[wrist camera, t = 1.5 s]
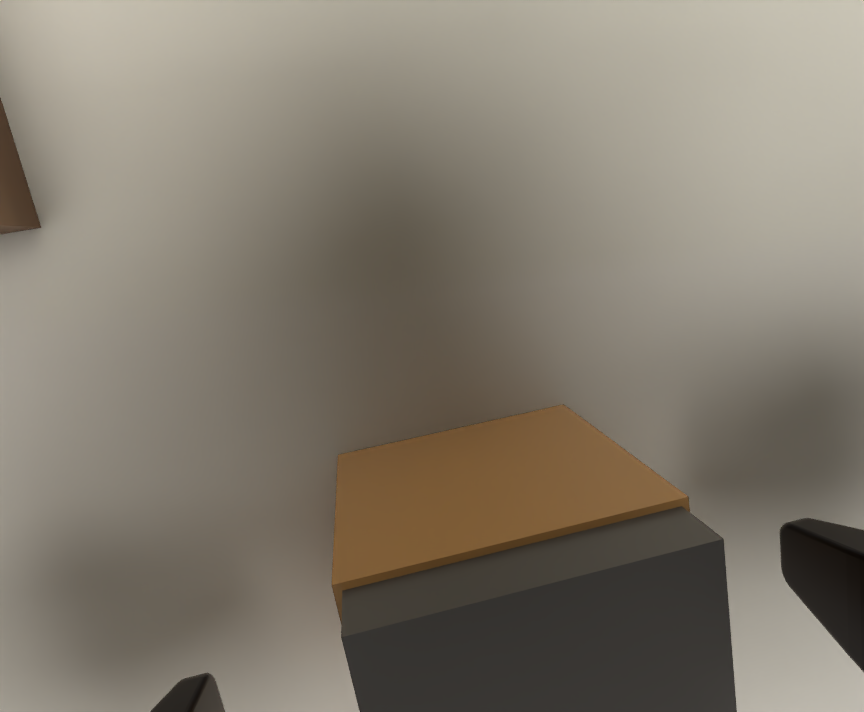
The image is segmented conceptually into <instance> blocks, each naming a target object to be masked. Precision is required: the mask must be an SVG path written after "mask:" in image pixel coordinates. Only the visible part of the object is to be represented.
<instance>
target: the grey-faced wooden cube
mask: <svg viewBox="0 0 864 712" xmlns="http://www.w3.org/2000/svg"><path fill="white" fill-rule="evenodd" d="M332 588H333V593H334V597H335V601H336V605H337V609H338V613H339V617H340V621H341V625H342V630H341V638H342V642H343V646H344V650H345V654H346V658H347V662H348V666H349V670H350V674H351V678H352V682H353V686H354V690H355V694H356V698H357V702H358V706H359V710H360V712H737V710H736V697H735V684H734V671H733V658H732V645H731V632H730V618H729V605H728V592H727V579H726V566H725V553H724V540H723V538H722V537H720V536H719V535H718V534H717V533H715V532H714V531H713V530H711V529H710V528H709V527H708V526H706V525H705V524H704V523H703V522H701V521H700V520H699V519H697V518H696V517H695V516H694V515H692V514H691V513H690V509H689V498H688V496H687V495H685V494H684V493H683V492H681V491H680V490H679V489H677V488H676V487H675V486H673V485H672V484H670V483H669V482H668V481H666V480H665V479H664V478H662V477H661V476H660V475H658V474H657V473H656V472H654V471H653V470H652V469H650V468H649V467H648V466H646V465H645V464H643V463H642V462H641V461H639V460H638V459H637V458H635V457H634V456H633V455H631V454H630V453H629V452H627V451H626V450H625V449H623V448H622V447H620V446H619V445H618V444H616V443H615V442H614V441H612V440H611V439H610V438H608V437H607V436H606V435H604V434H603V433H602V432H600V431H599V430H598V429H596V428H595V427H593V426H592V425H591V424H589V423H588V422H587V421H585V420H584V419H583V418H581V417H580V416H579V415H577V414H576V413H575V412H573V411H572V410H570V409H569V408H568V407H566V406H565V405H564V404H563V405H558V406H554V407H550V408H545V409H541V410H536V411H532V412H527V413H523V414H518V415H514V416H509V417H505V418H500V419H496V420H492V421H487V422H483V423H478V424H474V425H469V426H465V427H460V428H456V429H451V430H447V431H442V432H438V433H433V434H429V435H425V436H420V437H416V438H411V439H407V440H402V441H398V442H393V443H389V444H384V445H380V446H375V447H371V448H366V449H362V450H358V451H353V452H349V453H344V454H340V455H338V464H337V485H336V505H335V526H334V547H333V568H332Z"/></svg>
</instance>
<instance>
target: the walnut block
mask: <svg viewBox="0 0 864 712" xmlns="http://www.w3.org/2000/svg"><path fill="white" fill-rule="evenodd" d="M35 228H41V226H40V222H39V219H38V216H37V213H36V210H35V206H34V203H33V200H32V197H31V194H30V190H29V187H28V184H27V181H26V178H25V174H24V171H23V168H22V165H21V162H20V159H19V155H18V152H17V149H16V146H15V143H14V139H13V136H12V133H11V130H10V127H9V123H8V120H7V117H6V114H5V111H4V108H3V104H2V101H1V98H0V234H5V233H11V232H17V231H23V230H29V229H35Z"/></svg>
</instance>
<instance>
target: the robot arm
mask: <svg viewBox="0 0 864 712" xmlns="http://www.w3.org/2000/svg"><path fill="white" fill-rule="evenodd" d="M780 549H781V568H782V572H783V576H784V578H785V580H786V582H787V583H788V585H789V586H790V588H791V589H792V590H793V591H794V592H795V593H796V595H797V596H798V597H799V598H800V599H801V600H802V602H803V603H804V604H805V605H806V606H807V607H808V609H809V610H810V611H811V612H812V613H813V614H814V616H815V617H816V618H817V619H818V620H819V621H820V623H821V624H822V625H823V626H824V627H825V628H826V630H827V631H828V632H829V633H830V634H831V635H832V637H833V638H834V639H835V640H836V641H837V642H838V644H839V645H840V646H841V647H842V648H843V649H844V651H845V652H846V653H847V654H848V655H849V656H850V657H851V659H852V660H853V661H854V662H855V663H856V664H857V665H858V666H859V667H860V669H861V670H862V671H863V672H864V530H861V529H856V528H852V527H847V526H843V525H838V524H833V523H829V522H824V521H820V520H815V519H810V518H803V519H799V520H796V521H792V522H788V523H785V524H784V525H782V527H781V529H780ZM150 712H225V710H224V707H223V703H222V700H221V697H220V694H219V690H218V687H217V684H216V681H215V679H214V677H213V676H212V675H211V674H209V673H204V674H200V675H196V676H193V677H189V678H185V679H182V680H181V681H180V682H178V683H177V684H176V685H175V686H174V687H173V689H172V690H171V691H170V692H169V693H168V694H167V695H166V696H165V697H164V698H163V699H162V700H161V701H160V702H159V703H158V704H157V705H156V706H155V707H154V708H153V709H152V710H151V711H150Z"/></svg>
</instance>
